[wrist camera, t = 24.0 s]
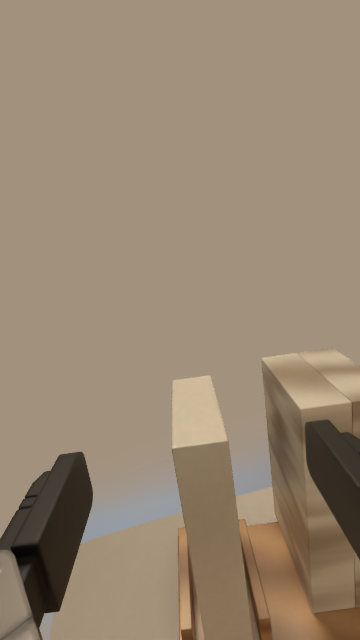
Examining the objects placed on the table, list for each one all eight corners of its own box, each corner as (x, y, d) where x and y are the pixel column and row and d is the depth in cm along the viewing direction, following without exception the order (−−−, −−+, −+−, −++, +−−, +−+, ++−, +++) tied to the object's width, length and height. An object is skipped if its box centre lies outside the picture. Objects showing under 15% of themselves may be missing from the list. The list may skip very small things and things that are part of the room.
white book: (255, 658, 21) (228, 440, 17) (208, 664, 21) (171, 448, 17) (231, 538, 30) (210, 374, 26) (198, 542, 30) (172, 380, 26)
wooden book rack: (439, 663, 21) (457, 419, 16) (182, 696, 21) (133, 464, 17) (343, 512, 32) (339, 346, 28) (179, 534, 33) (150, 373, 28)
